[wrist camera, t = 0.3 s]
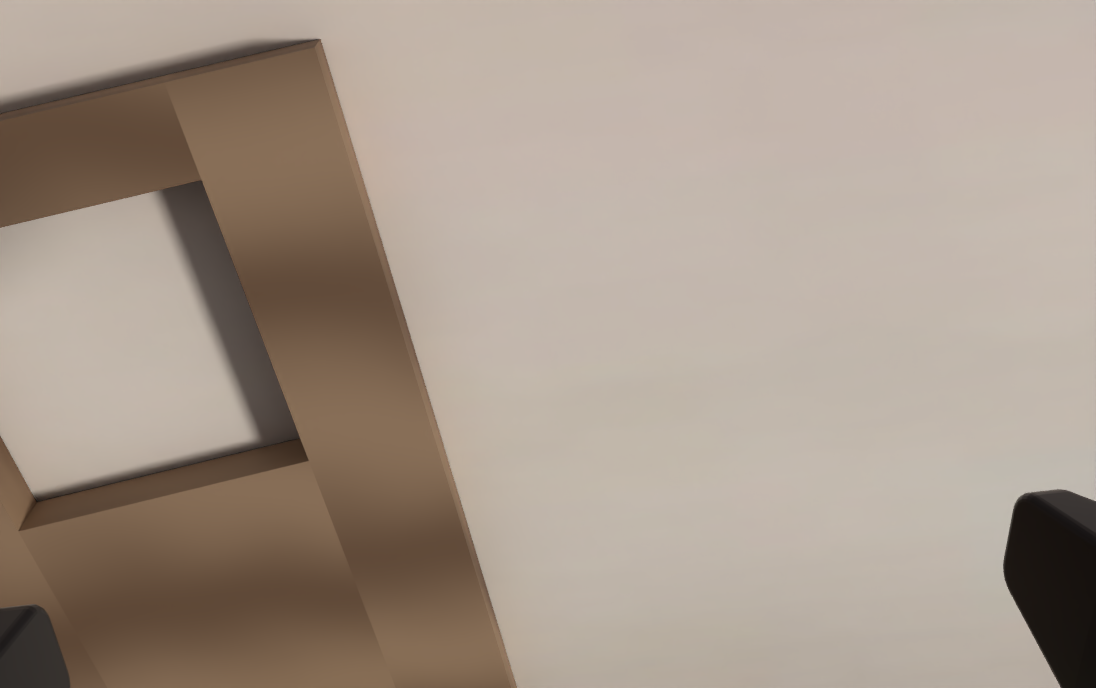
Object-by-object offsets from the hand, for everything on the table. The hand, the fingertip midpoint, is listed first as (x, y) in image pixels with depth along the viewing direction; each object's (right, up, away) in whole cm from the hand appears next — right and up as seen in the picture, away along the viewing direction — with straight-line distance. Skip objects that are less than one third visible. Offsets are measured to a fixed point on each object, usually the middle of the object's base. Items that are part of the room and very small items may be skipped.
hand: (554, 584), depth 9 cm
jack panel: (-8, -4, +16) cm, 19 cm away
